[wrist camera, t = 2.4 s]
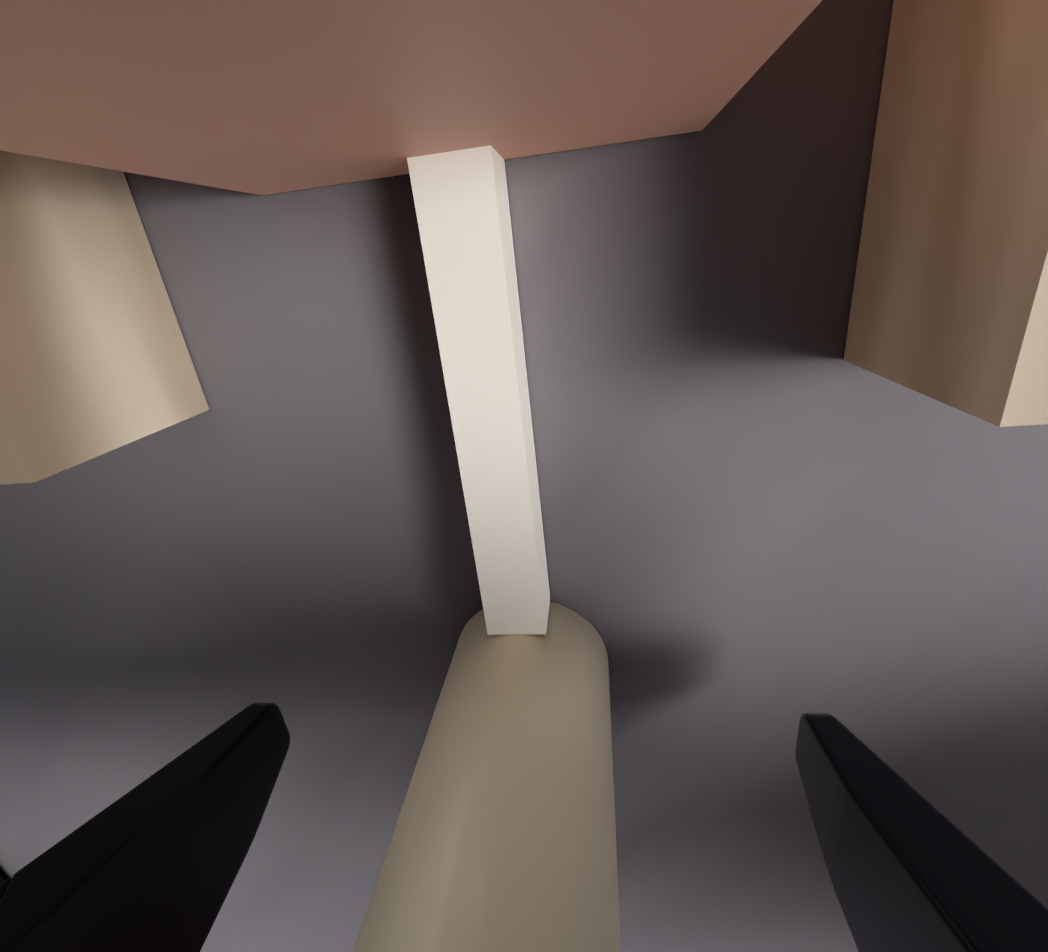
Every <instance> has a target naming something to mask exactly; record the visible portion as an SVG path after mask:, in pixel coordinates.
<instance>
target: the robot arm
mask: <svg viewBox="0 0 1048 952" xmlns="http://www.w3.org/2000/svg"><path fill="white" fill-rule="evenodd" d="M289 743H290V735H289V731H288V729H287V726H286V724H285V721H284V719H283V716H282V714H281V711H280V709H279V707H278V706H277V705H276V704H274V703H254V704H252V705H250V706H248V707H247V708H245V709H244V710H243V711H241V712H240V713H238V714H237V715H236V716H234V717H233V718H231V719H230V720H229V721H227V722H226V723H224V724H223V725H222V726H220V727H219V728H217V729H216V730H215V731H213V732H212V733H210V734H209V735H208V736H206V737H205V738H203V739H202V740H201V741H199V742H198V743H196V744H195V745H194V746H192V747H191V748H189V749H188V750H187V751H185V752H184V753H183V754H181V755H180V756H178V757H177V758H176V759H174V760H173V761H171V762H170V763H169V764H167V765H166V766H164V767H163V768H162V769H160V770H159V771H157V772H156V773H155V774H153V775H152V776H150V777H149V778H148V779H146V780H145V781H143V782H142V783H141V784H139V785H138V786H136V787H135V788H134V789H132V790H131V791H129V792H128V793H127V794H125V795H124V796H122V797H121V798H120V799H118V800H117V801H116V802H114V803H113V804H111V805H110V806H109V807H107V808H106V809H104V810H103V811H102V812H100V813H99V814H97V815H96V816H95V817H93V818H92V819H90V820H89V821H88V822H86V823H85V824H83V825H82V826H81V827H79V828H78V829H76V830H75V831H74V832H72V833H71V834H69V835H68V836H67V837H65V838H64V839H62V840H61V841H60V842H58V843H57V844H55V845H54V846H53V847H51V848H50V849H48V850H47V851H46V852H44V853H43V854H41V855H40V856H39V857H37V858H36V859H34V860H33V861H32V862H30V863H29V864H27V865H26V866H25V867H23V868H22V869H20V870H19V871H18V872H17V873H15V874H14V876H13V878H8V879H6V880H5V881H4V880H3V879H2V877H1V876H0V952H200V951H201V948H202V946H203V944H204V942H205V940H206V938H207V936H208V934H209V932H210V930H211V928H212V926H213V923H214V921H215V919H216V917H217V915H218V913H219V911H220V909H221V907H222V905H223V903H224V900H225V898H226V896H227V894H228V892H229V890H230V888H231V886H232V884H233V882H234V880H235V878H236V875H237V873H238V871H239V869H240V867H241V865H242V863H243V861H244V859H245V857H246V855H247V852H248V850H249V848H250V846H251V844H252V841H253V839H254V837H255V834H256V832H257V830H258V827H259V825H260V822H261V819H262V817H263V814H264V812H265V809H266V806H267V804H268V801H269V798H270V796H271V793H272V791H273V788H274V785H275V783H276V780H277V777H278V775H279V772H280V769H281V767H282V764H283V762H284V759H285V756H286V754H287V751H288V748H289ZM796 760H797V765H798V769H799V772H800V776H801V779H802V783H803V786H804V790H805V793H806V797H807V800H808V804H809V807H810V811H811V814H812V818H813V821H814V825H815V828H816V832H817V835H818V839H819V842H820V846H821V849H822V853H823V856H824V860H825V863H826V866H827V869H828V873H829V876H830V879H831V881H832V884H833V887H834V889H835V892H836V895H837V898H838V900H839V903H840V905H841V908H842V910H843V913H844V915H845V918H846V920H847V923H848V926H849V928H850V931H851V933H852V936H853V938H854V941H855V943H856V946H857V948H858V951H859V952H1048V909H1047V908H1046V907H1045V906H1044V905H1043V904H1041V903H1040V902H1039V901H1038V900H1037V899H1036V898H1035V897H1034V896H1033V895H1031V894H1030V893H1029V892H1028V891H1027V890H1026V889H1025V888H1024V887H1023V886H1021V885H1020V884H1019V883H1018V882H1017V881H1016V880H1015V879H1014V878H1013V877H1011V876H1010V875H1009V874H1008V873H1007V872H1006V871H1005V870H1004V869H1003V868H1001V867H1000V866H999V865H998V864H997V863H996V862H995V861H994V860H993V859H992V858H990V857H989V856H988V855H987V854H986V853H985V852H984V851H983V850H982V849H980V848H979V847H978V846H977V845H976V844H975V843H974V842H973V841H972V840H970V839H969V838H968V837H967V836H966V835H965V834H964V833H963V832H962V831H960V830H959V829H958V828H957V827H956V826H955V825H954V824H953V823H952V822H950V821H949V820H948V819H947V818H946V817H945V816H944V815H943V814H942V813H940V812H939V811H938V810H937V809H936V808H935V807H934V806H933V805H932V804H930V803H929V802H928V801H927V800H926V799H925V798H924V797H923V796H922V795H920V794H919V793H918V792H917V791H916V790H915V789H914V788H913V787H912V786H910V785H909V784H908V783H907V782H906V781H905V780H904V779H903V778H902V777H901V776H899V775H898V774H897V773H896V772H895V771H894V770H893V769H892V768H891V767H889V766H888V765H887V764H886V763H885V762H884V761H883V760H882V759H881V758H879V757H878V756H877V755H876V754H875V753H874V752H873V751H872V750H871V749H869V748H868V747H867V746H866V745H865V744H864V743H863V742H862V741H861V740H859V739H858V738H857V737H856V736H855V735H854V734H853V733H852V732H851V731H849V730H848V729H847V728H846V727H845V726H844V725H843V724H842V723H841V722H839V721H838V720H837V719H836V718H835V717H833V716H832V715H830V714H824V713H805V714H803V715H802V716H801V718H800V723H799V730H798V736H797V743H796Z"/></svg>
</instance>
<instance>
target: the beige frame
mask: <svg viewBox="0 0 1048 952" xmlns="http://www.w3.org/2000/svg"><path fill="white" fill-rule="evenodd" d="M844 360H845V361H847V362H849V363H852V364H854V365H856V366H859V367H861V368H863V369H866V370H868V371H870V372H873V373H875V374H877V375H880V376H882V377H884V378H887V379H889V380H891V381H894V382H896V383H898V384H901V385H903V386H905V387H908V388H910V389H912V390H915V391H917V392H919V393H922V394H924V395H926V396H929V397H931V398H933V399H936V400H938V401H940V402H943V403H945V404H947V405H950V406H952V407H954V408H957V409H959V410H961V411H964V412H966V413H968V414H971V415H973V416H975V417H978V418H980V419H982V420H985V421H987V422H989V423H992V424H994V425H996V426H999V427H1006V426H1024V425H1041V424H1048V0H894V1H893V8H892V15H891V23H890V30H889V37H888V44H887V51H886V58H885V66H884V73H883V80H882V87H881V94H880V102H879V109H878V116H877V123H876V130H875V138H874V145H873V152H872V159H871V166H870V174H869V181H868V188H867V195H866V202H865V209H864V217H863V224H862V231H861V238H860V245H859V253H858V260H857V267H856V274H855V281H854V289H853V296H852V303H851V310H850V317H849V324H848V332H847V339H846V346H845V353H844ZM208 410H209V407H208V405H207V402H206V399H205V396H204V394H203V391H202V388H201V385H200V383H199V380H198V377H197V374H196V372H195V369H194V366H193V363H192V360H191V358H190V355H189V352H188V349H187V347H186V344H185V341H184V338H183V336H182V333H181V330H180V327H179V325H178V322H177V319H176V316H175V313H174V311H173V308H172V305H171V302H170V300H169V297H168V294H167V291H166V289H165V286H164V283H163V280H162V278H161V275H160V272H159V269H158V266H157V264H156V261H155V258H154V255H153V253H152V250H151V247H150V244H149V242H148V239H147V236H146V233H145V231H144V228H143V225H142V222H141V219H140V217H139V214H138V211H137V208H136V206H135V203H134V200H133V197H132V195H131V192H130V189H129V186H128V184H127V181H126V178H125V175H124V172H123V171H117V170H111V169H105V168H100V167H94V166H88V165H82V164H77V163H71V162H65V161H59V160H53V159H48V158H42V157H36V156H30V155H24V154H19V153H13V152H7V151H1V150H0V485H2V484H20V483H35V482H37V481H40V480H42V479H45V478H47V477H49V476H52V475H54V474H57V473H59V472H61V471H64V470H66V469H69V468H71V467H73V466H76V465H78V464H81V463H83V462H85V461H88V460H90V459H93V458H95V457H97V456H100V455H102V454H105V453H107V452H109V451H112V450H114V449H117V448H119V447H121V446H124V445H126V444H129V443H131V442H133V441H136V440H138V439H141V438H143V437H145V436H148V435H150V434H153V433H155V432H157V431H160V430H162V429H165V428H167V427H169V426H172V425H174V424H177V423H179V422H181V421H184V420H186V419H189V418H191V417H193V416H196V415H198V414H201V413H203V412H205V411H208Z"/></svg>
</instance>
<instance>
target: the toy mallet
mask: <svg viewBox="0 0 1048 952" xmlns="http://www.w3.org/2000/svg"><path fill="white" fill-rule="evenodd" d="M821 1H822V0H0V150H1V151H7V152H13V153H19V154H24V155H30V156H36V157H42V158H48V159H53V160H59V161H65V162H71V163H77V164H82V165H88V166H94V167H100V168H105V169H111V170H117V171H123V172H129V173H134V174H140V175H146V176H152V177H158V178H163V179H169V180H175V181H181V182H187V183H192V184H198V185H204V186H210V187H216V188H221V189H227V190H233V191H239V192H245V193H250V194H256V195H269V194H276V193H283V192H289V191H296V190H303V189H310V188H317V187H323V186H330V185H337V184H344V183H350V182H357V181H364V180H371V179H378V178H384V177H391V176H398V175H405V174H410V180H411V186H412V192H413V198H414V203H415V209H416V215H417V221H418V227H419V233H420V239H421V245H422V251H423V257H424V262H425V268H426V274H427V280H428V286H429V292H430V298H431V304H432V310H433V316H434V321H435V327H436V333H437V339H438V345H439V351H440V357H441V363H442V369H443V374H444V380H445V386H446V392H447V398H448V404H449V410H450V416H451V422H452V428H453V433H454V439H455V445H456V451H457V457H458V463H459V469H460V475H461V481H462V487H463V492H464V498H465V504H466V510H467V516H468V522H469V528H470V534H471V540H472V546H473V551H474V557H475V563H476V569H477V575H478V581H479V587H480V593H481V599H482V605H483V609H482V610H480V611H479V612H478V613H476V614H475V615H474V616H473V617H472V618H471V619H470V620H469V621H468V622H467V623H466V625H465V627H464V628H463V630H462V632H461V635H460V637H459V640H458V643H457V646H456V649H455V652H454V655H453V658H452V661H451V664H450V667H449V670H448V673H447V676H446V678H445V681H444V684H443V687H442V690H441V693H440V696H439V699H438V702H437V705H436V708H435V711H434V714H433V717H432V720H431V723H430V726H429V729H428V731H427V734H426V737H425V740H424V743H423V746H422V749H421V752H420V755H419V758H418V761H417V764H416V767H415V770H414V773H413V776H412V779H411V782H410V785H409V787H408V790H407V793H406V796H405V799H404V802H403V805H402V808H401V811H400V814H399V817H398V820H397V823H396V826H395V829H394V832H393V835H392V838H391V840H390V843H389V846H388V849H387V852H386V855H385V858H384V861H383V864H382V867H381V870H380V873H379V876H378V879H377V882H376V885H375V888H374V891H373V894H372V896H371V899H370V902H369V905H368V908H367V911H366V914H365V917H364V920H363V923H362V926H361V929H360V932H359V935H358V938H357V941H356V944H355V947H354V950H353V952H621V935H620V912H619V890H618V867H617V845H616V822H615V800H614V777H613V755H612V732H611V709H610V687H609V664H608V655H607V650H606V647H605V644H604V642H603V640H602V638H601V636H600V635H599V633H598V632H597V630H596V629H595V628H594V627H593V626H592V625H591V624H590V623H589V622H588V621H587V620H586V619H585V618H583V617H582V616H581V615H579V614H578V613H576V612H575V611H573V610H571V609H569V608H567V607H565V606H563V605H560V604H557V603H555V602H551V601H550V590H549V581H548V571H547V562H546V552H545V543H544V533H543V524H542V514H541V505H540V495H539V486H538V476H537V466H536V457H535V447H534V438H533V428H532V419H531V409H530V400H529V390H528V381H527V371H526V362H525V352H524V343H523V333H522V324H521V314H520V305H519V295H518V286H517V276H516V267H515V257H514V248H513V238H512V228H511V219H510V209H509V200H508V190H507V181H506V171H505V162H504V160H506V159H513V158H520V157H527V156H534V155H540V154H547V153H554V152H561V151H567V150H574V149H581V148H588V147H595V146H601V145H608V144H615V143H622V142H629V141H635V140H642V139H649V138H656V137H662V136H669V135H676V134H683V133H690V132H696V131H702V130H703V129H704V128H705V127H706V126H707V125H708V124H709V123H710V122H711V121H712V120H713V118H714V117H715V116H716V115H717V114H718V113H719V112H720V111H721V110H722V109H723V108H724V106H725V105H726V104H727V103H728V102H729V101H730V100H731V99H732V98H733V97H734V96H735V95H736V93H737V92H738V91H739V90H740V89H741V88H742V87H743V86H744V85H745V84H746V83H747V82H748V80H749V79H750V78H751V77H752V76H753V75H754V74H755V73H756V72H757V71H758V70H759V69H760V67H761V66H762V65H763V64H764V63H765V62H766V61H767V60H768V59H769V58H770V57H771V56H772V54H773V53H774V52H775V51H776V50H777V49H778V48H779V47H780V46H781V45H782V44H783V42H784V41H785V40H786V39H787V38H788V37H789V36H790V35H791V34H792V33H793V32H794V31H795V29H796V28H797V27H798V26H799V25H800V24H801V23H802V22H803V21H804V20H805V19H806V18H807V16H808V15H809V14H810V13H811V12H812V11H813V10H814V9H815V8H816V7H817V6H818V5H819V3H820V2H821Z"/></svg>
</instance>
